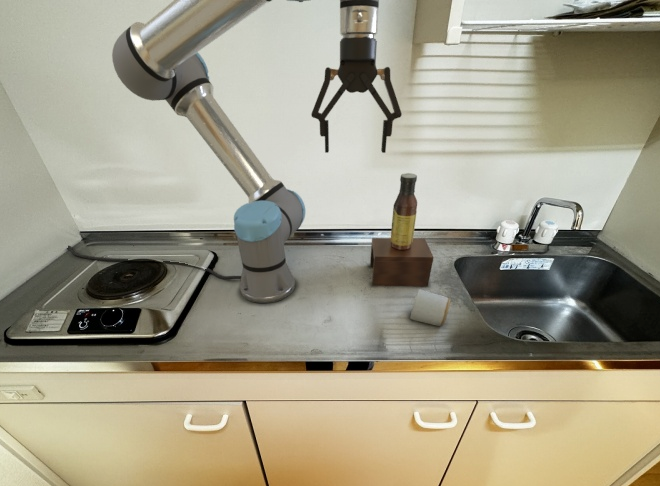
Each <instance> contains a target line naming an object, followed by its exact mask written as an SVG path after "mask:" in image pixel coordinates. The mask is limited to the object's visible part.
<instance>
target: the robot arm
mask: <svg viewBox="0 0 660 486" xmlns="http://www.w3.org/2000/svg"><path fill="white" fill-rule="evenodd" d="M272 1H273V0H173V1H171V2H170V3H169V4H168V5H166V6H165V7H164V8H162V10H160V11H159V12H158V13H157V14H155V16H153V17H152V18H150V20H148V21H147V22H146V23H144V22H140V21H136V22H134V23H132V24H131V25H129V27H128V28H126V29H125V30H124V31H123V32H122V33H121V34H120V35H119V36H118V37H117V39H116V40H115V42H114V44H113V48H112V52H111V58H112V59H111V60H112V65H113V69H114V71H115V74H116V75H117V77H118V79H119V80H120V81H121V83H122V85H124V86H125V88H126V89H128V91H130V92H131V93H132V94H134V95H136V96H137V97H139V98H141V99H144V100H148V101H166V102H167V104H168V105H169V106H170V108H171V109H172V110H173V112H174V113H175V114H176V115H177V116H180V117H184V118H186V119H187V120H188V121H189V122H190V123H191V125H192V126H193V128H194V129H195V131H196V132H198V134H199V135H200V137H201V138H202V139H203V140H204V142H205V143H206V145H207V146H208V147H209V148H210V150H211V151H212V153H214V155H215V156H216V157H217V159H218V160H219V161H220V163H221V164H222V165H223V167H224V168H225V169H226V170H227V171H228V173H229V174H230V175H231V176H232V179H234V180H235V182H236V183H237V184H238V186H239V187H240V188H241V189H242V191H243V193H244V194H245V195H246V196H247V197H248V202H247V203H244V204H243V205H240V207H238V209H236V210H235V212H234V215H233V228H234V229H233V231H234V233H235V236H236V240H237V245H238V250H239V251H238V252H239V256H240V261H241V264H242V272H241V275H221V274H220V273H217V272H216V271H214V270H212V269H211V268H208V267H206V268H207V269H205V270H204V271H205V272H208V273H210V274H212V275H213V276H214V277H216V278H218V279H220V280H221V279H222V280H240V283H239V284H240V285H239V290H240V294H241V295H242V297H243V298H244V299H246V300H247V301H249V302H253V303H257V304H271V303H276V302H279V301H282V300H284V299H286V298H287V297H289V296H290V295H292V293H293V292H294V291H295V288H296V281H295V278H294V275H293V272H292V271H291V269H290V267H289V265H288V262H287V259H286V258H287V257H286V249H285V243H286V242H287V241H288V240H289V239H290V238H291V237H292V235H294V233H295V232H296V231H298V230H299V229H300V227H302V224H303V222H304V221H305V218H306V205H305V203H304V202H305V201H304V200H303V199H302V197H301V196H300V195H299V194H298V193H297V192H296V191H294V190H291V189H288V188H287V187H286V186H285V185H284V183H283V182H282V181H281V180H279V179H274V178H273V177H272V176H271V174H270V173H269V172H268V171H267V169H266V168H265V166H264V164H263V163H262V162H261V160H260V159H259V158H258V157H257V155H256V153H254V150H252V148H251V147H250V145H249V144H248V143H247V141H246V140H245V138H244V137H243V136H242V134H241V133H240V132H239V130H238V128H237V127H236V126H235V124H234V122H232V121H231V119H230V118H229V116H228V115H227V114H226V113H225V111H224V109H223V108H222V107H221V106H220V104H219V103H218V101H217V99H216V98H215V97H214V86H213V84H212V83H211V81H210V76H209V69H208V67H207V64H206V62H205V60H204V58H203V57H202V55H201V54H200V53H199V52H201V50H203V49H205V48H206V47H207V46H208V45H210V44H211V43H213V42H214V41H216V40H217V39H218V38H220V37H221V36H223V35H224V34H225V33H227V32H229V31H230V30H231V29H232V28H234V27H235V26H237V25H239V24H240V23H241V22H243V21H244V20H245V19H247V18H248V17H250V16H251V15H252V14H254V13H255V12H257V11H258V10H260V9H261V8H263V7H264V6H265V5H267V4H268V3H269V2H272ZM286 1H287V2H299V3H303V2H307V1H308V2H309V1H310V0H286ZM379 8H380V0H339V35H340V36H342V38H341V39H340V41H339V67H338V69H337V68H331V67H329V66H327V67H326V68H325V70H324V80H323V82H322V85H321V87H320V91H319V93H318V95H317V98H316V101H315V103H314V106H313V109H312V111H311V113H310V115H311V118H313V119H317V120H318V121H319V135H320V137H324V153H327V154H328V153H329V151H330V139H329V137H330V136H329V135H330V134H329V130H330V129H329V119H326V118H327V117H328V115H329V114H330V113H331V111H332V110H333V109H334V107H335V105H336V104H337V103H338V102H339V100H340V99H341V97H342V96H343V95H344V93H345V92H346V91H347V93H349V94H352V93H353V94H354V93H356V92H357V93H362V94H364V93H366V92H367V91H368V92H369V93H370V95H371V96H372V98H373V99H374V101H375V103H376V104H377V105H378V108H379V109H380V110H381V111H382V113H383V114H384V117H386V119H383V122H382V135H381V136H382V137H381V151H380V152H381V153H383V154H386V150H387V140H388V137H392V134H393V133H392V132H393V123H394V121H395V120H397V119H399V118H401V117H402V115H403V114H402V110H401V107H400V104H399V101H398V98H397V95H396V92H395V89H394V86H393V83H392V80H391V68H390V67H389V66H385V67H382V68H377V65H376V64H377V63H376V62H377V47H378V46H377V43H378V41H377V39H376V38H375V36H377V34H378V26H379V25H378V24H379ZM336 76H337V77H338V79H339V81H340V82H341V85H340V86H339V88H338V90H337V91H336V93H335V94H334V95H333V97H332V98H331V99H330V100H329V103H328V104H327V105H326V106H325V108H324V109H323V111H322V112H320V109H321V106H322V104H323V101H324V99H325V97H326V94H327V91H328V89H329V87H330V84H331V81H334V80H335V77H336ZM377 76H379V79H380V80H381V81H383V83H384V87H385V89H386V92H387V96H388V99H389V101H390V104H391V107H392V110H393V112H391V110H390V109H389V108H388V106H387V105H386V103H385V102H384V100H383V98H382V97H381V96H380V94H379V92H378V91H377V89H376V88H375V86H374V84H373V82H374V81H375V79H376V78H377ZM67 246H68V248H67V247H66V250H68V251H70V253H71V254H72V256H76V257H78V258H81V259H87V260H94V261H102V262H120V263H121V262H122V263H123V261H128V259H129V258H113V257H99V256H91V255H85V254H80V253H77V252H76V251H75V250H74V249H73V247H72V246H71V245H67ZM163 262H165V263H164V264H173V265H182V266H186V265H188V264H185V263H179V262H170V261H163Z"/></svg>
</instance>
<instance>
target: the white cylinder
mask: <svg viewBox="0 0 660 486" xmlns="http://www.w3.org/2000/svg"><path fill="white" fill-rule="evenodd" d="M450 305H451V299H450V298H448V297H447V296H443V295H440V294H438V293H434V292H430V291H427V290H423V289H417V292H416V294H415V297H414V301H413V304H412V308H411V311H410V317H409V318H410V320H413V321H417V322H421V323H424V324H429V325H433V326H437V327H441V326H443V325H445V323H446V320H447V318H448V317H447V316H448V313H449V309H450Z"/></svg>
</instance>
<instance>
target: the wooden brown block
mask: <svg viewBox="0 0 660 486" xmlns="http://www.w3.org/2000/svg"><path fill="white" fill-rule="evenodd" d="M434 258H435V257H434V255H433V253H432V250H431V248H430V246H429V244H428V242H427V240H426V238H419V237H418V238H416V237H415V238H414V237H413V242H412V245H411V248H409V249H406V250H399V249H395V248H393V247H392V246H391V237H371V245H370V260H369V261H370V262H369V267H370V268H372V280H371V285H372V286H377V287H429V284H430V283H429V282H430V278H431V272H432V267H433V263H434Z"/></svg>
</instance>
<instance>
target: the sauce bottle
mask: <svg viewBox="0 0 660 486" xmlns="http://www.w3.org/2000/svg"><path fill="white" fill-rule="evenodd" d="M417 180H418V175H417V174H415V173H411V172H406V173H401V175H400V178H399V181H400V185H399V192H398V194H397V196H396V199H395V201H394V204H393V208H392V220H391V229H390V230H391V231H390V238H391V246H392V247H393V248H395V249H399V250H406V249H409V248H411V245H412V242H413V238H414V236H415V235H414V234H415V227H416V220H417V212H418V211H417V208H418V199H417V197H416V195H415V193H416V191H415V189H416V183H417Z"/></svg>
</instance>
